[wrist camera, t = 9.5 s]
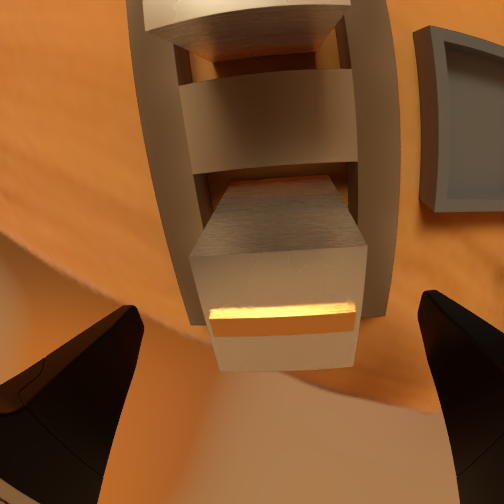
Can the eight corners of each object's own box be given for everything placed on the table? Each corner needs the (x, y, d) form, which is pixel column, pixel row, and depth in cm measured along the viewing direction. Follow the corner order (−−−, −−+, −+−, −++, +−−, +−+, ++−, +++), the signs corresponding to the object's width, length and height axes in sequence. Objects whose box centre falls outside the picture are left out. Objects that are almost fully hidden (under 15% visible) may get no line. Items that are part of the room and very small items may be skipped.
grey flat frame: (353, -63, 7) (362, -81, 5) (376, 292, 16) (384, 316, 14) (142, -37, 8) (124, -50, 7) (199, 302, 17) (190, 325, 15)
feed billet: (327, 174, 13) (369, 249, 7) (329, 259, 15) (354, 371, 9) (231, 181, 14) (186, 260, 7) (243, 264, 16) (219, 375, 9)
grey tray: (529, 65, 8) (549, 66, 6) (526, 200, 12) (543, 211, 10) (412, 32, 9) (429, 25, 8) (419, 198, 13) (434, 212, 11)
